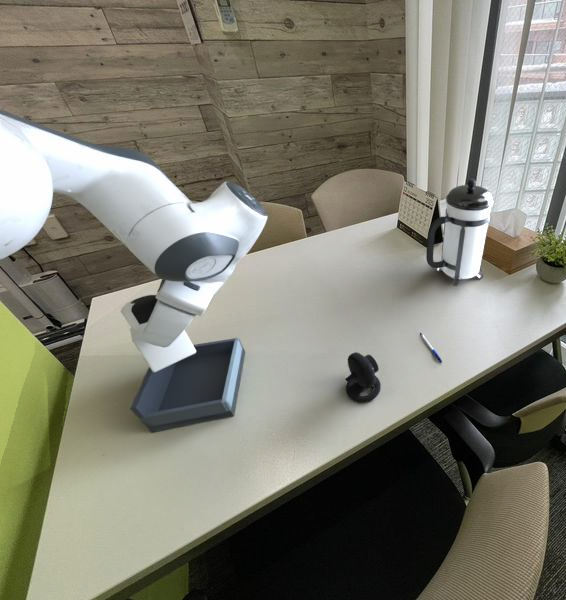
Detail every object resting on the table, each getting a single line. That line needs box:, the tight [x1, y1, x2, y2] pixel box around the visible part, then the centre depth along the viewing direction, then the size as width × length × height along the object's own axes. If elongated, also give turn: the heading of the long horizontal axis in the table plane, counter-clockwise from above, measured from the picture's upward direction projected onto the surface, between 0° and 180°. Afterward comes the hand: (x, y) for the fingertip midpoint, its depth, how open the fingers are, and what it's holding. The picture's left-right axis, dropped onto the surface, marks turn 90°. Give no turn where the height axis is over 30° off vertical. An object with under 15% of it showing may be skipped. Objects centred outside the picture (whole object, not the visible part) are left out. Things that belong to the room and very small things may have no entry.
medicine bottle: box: [120, 294, 196, 372], centre depth 58 cm, size 7×7×12 cm
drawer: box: [129, 337, 246, 434], centre depth 67 cm, size 15×18×8 cm
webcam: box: [345, 351, 382, 404], centre depth 66 cm, size 8×8×10 cm
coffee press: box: [425, 178, 494, 287], centre depth 94 cm, size 17×16×30 cm
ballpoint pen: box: [419, 332, 443, 364], centre depth 79 cm, size 10×1×1 cm, turn 26°
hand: (159, 323), depth 58 cm, fingers closed on medicine bottle, 7 cm apart
